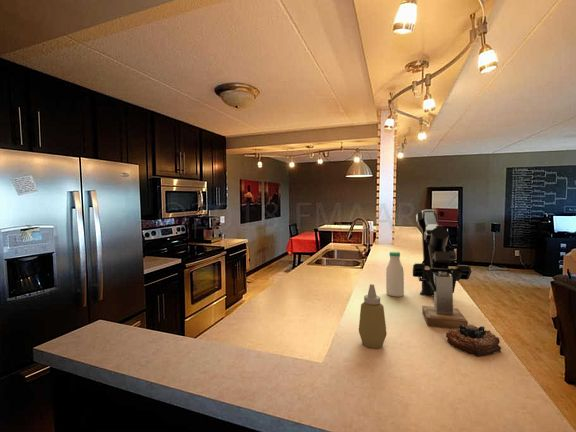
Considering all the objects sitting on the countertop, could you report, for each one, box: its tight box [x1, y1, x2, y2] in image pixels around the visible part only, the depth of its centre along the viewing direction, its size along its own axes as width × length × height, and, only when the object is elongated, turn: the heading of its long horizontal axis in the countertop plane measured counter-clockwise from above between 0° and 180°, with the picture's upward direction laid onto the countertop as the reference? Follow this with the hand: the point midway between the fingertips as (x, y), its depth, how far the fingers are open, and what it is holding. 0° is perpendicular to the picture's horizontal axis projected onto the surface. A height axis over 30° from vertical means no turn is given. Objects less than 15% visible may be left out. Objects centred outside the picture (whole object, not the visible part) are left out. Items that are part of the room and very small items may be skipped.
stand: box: [421, 305, 469, 330], centre depth 99 cm, size 12×12×3 cm
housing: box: [433, 271, 454, 315], centre depth 99 cm, size 5×5×14 cm
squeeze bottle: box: [358, 284, 387, 349], centre depth 83 cm, size 8×8×18 cm
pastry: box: [445, 324, 502, 358], centre depth 82 cm, size 11×12×6 cm
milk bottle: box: [385, 251, 405, 298], centre depth 131 cm, size 8×8×20 cm
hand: (444, 291), depth 98 cm, fingers open, 5 cm apart
